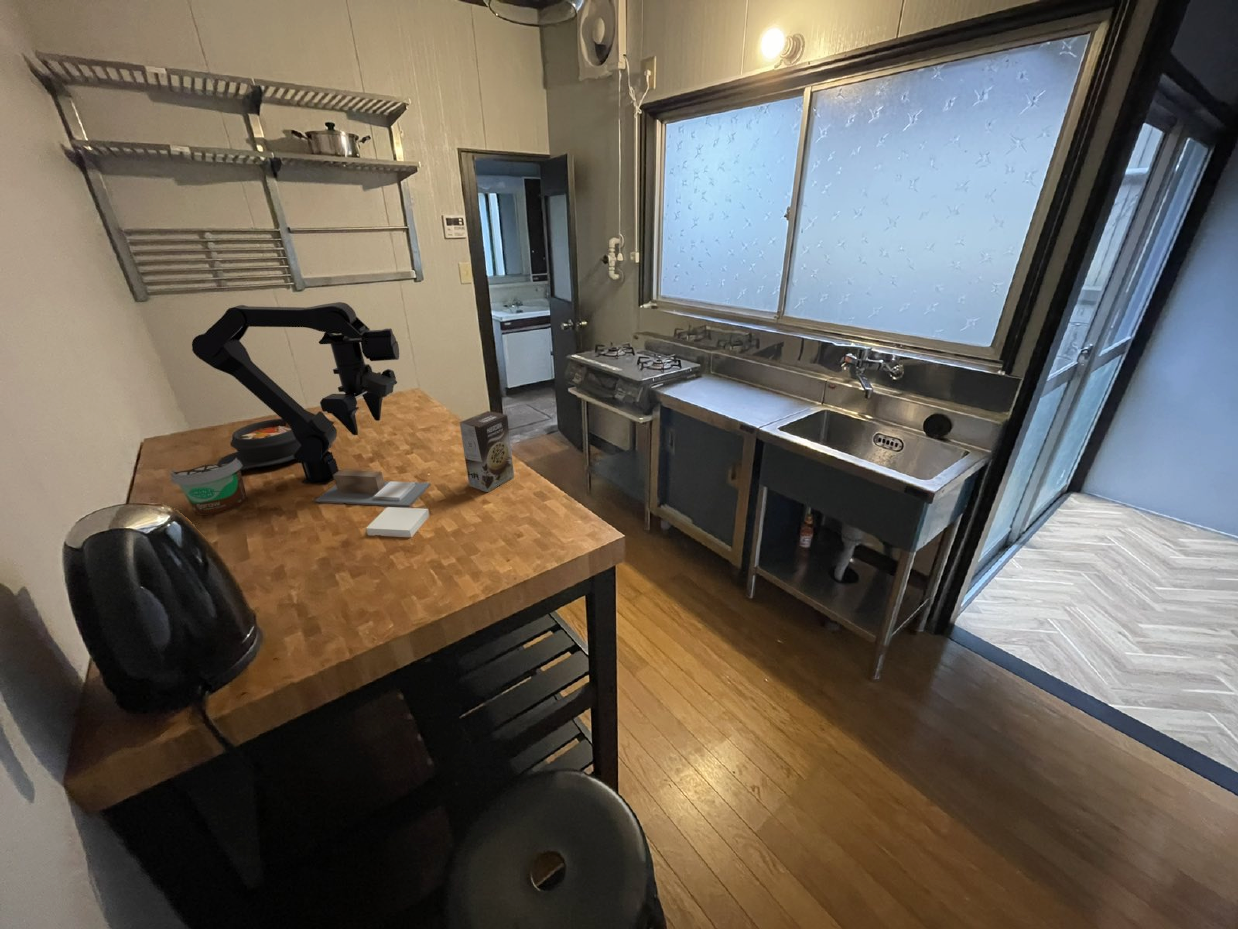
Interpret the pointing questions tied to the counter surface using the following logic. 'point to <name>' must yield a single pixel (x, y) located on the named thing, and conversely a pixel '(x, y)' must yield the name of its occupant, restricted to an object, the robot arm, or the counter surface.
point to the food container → (212, 487)
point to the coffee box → (487, 450)
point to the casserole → (263, 444)
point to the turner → (370, 484)
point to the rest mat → (372, 497)
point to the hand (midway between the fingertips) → (367, 427)
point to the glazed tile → (398, 522)
